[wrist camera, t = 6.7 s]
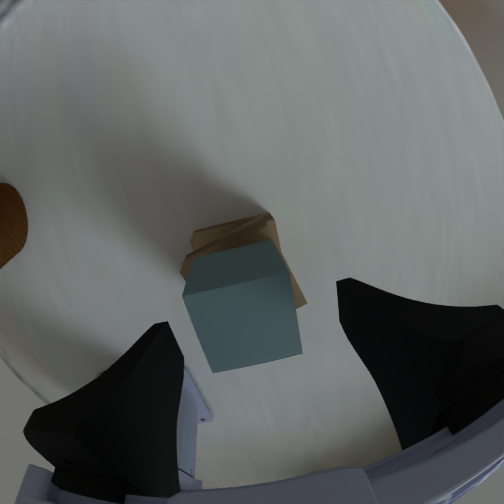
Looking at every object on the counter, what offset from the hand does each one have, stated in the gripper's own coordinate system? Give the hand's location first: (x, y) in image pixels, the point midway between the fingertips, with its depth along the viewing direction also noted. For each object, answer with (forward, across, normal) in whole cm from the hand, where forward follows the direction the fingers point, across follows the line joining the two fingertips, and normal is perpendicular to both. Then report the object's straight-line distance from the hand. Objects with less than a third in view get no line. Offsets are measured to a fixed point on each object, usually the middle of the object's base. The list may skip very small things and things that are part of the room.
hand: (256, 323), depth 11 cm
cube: (+3, 0, 0) cm, 4 cm away
